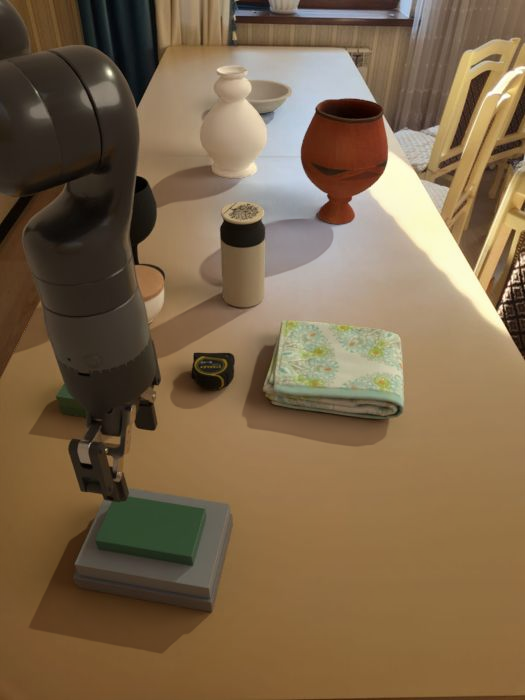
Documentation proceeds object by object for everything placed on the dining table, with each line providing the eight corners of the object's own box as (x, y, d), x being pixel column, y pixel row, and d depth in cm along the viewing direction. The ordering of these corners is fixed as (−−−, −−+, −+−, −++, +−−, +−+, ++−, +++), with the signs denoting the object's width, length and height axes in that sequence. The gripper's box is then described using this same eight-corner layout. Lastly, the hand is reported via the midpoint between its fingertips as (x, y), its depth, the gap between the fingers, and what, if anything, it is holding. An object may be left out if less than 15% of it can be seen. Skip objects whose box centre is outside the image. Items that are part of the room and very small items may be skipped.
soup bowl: (260, 95, 198) (260, 75, 193) (306, 112, 184) (307, 91, 180) (207, 108, 186) (206, 87, 182) (251, 128, 173) (251, 106, 168)
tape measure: (235, 365, 90) (235, 348, 88) (233, 395, 85) (232, 378, 83) (194, 364, 90) (192, 347, 88) (189, 394, 85) (187, 377, 83)
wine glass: (148, 259, 114) (134, 167, 101) (175, 281, 108) (164, 187, 95) (103, 276, 109) (83, 182, 96) (129, 300, 103) (110, 204, 90)
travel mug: (271, 293, 106) (274, 208, 94) (248, 314, 101) (247, 227, 89) (239, 280, 109) (237, 196, 97) (214, 299, 104) (209, 213, 92)
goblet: (386, 207, 133) (405, 100, 117) (363, 243, 120) (381, 129, 104) (313, 191, 139) (322, 88, 123) (284, 224, 126) (289, 113, 109)
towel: (278, 333, 97) (279, 310, 93) (399, 347, 94) (404, 324, 91) (261, 407, 83) (261, 384, 80) (401, 426, 81) (407, 403, 77)
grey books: (77, 587, 62) (67, 567, 59) (112, 504, 70) (105, 482, 67) (212, 612, 60) (210, 592, 57) (233, 524, 68) (232, 502, 65)
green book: (97, 549, 60) (94, 540, 59) (117, 503, 65) (114, 493, 63) (193, 566, 59) (191, 557, 58) (206, 517, 64) (205, 508, 62)
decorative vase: (261, 185, 142) (262, 82, 125) (195, 179, 144) (187, 78, 127) (271, 158, 155) (273, 62, 138) (210, 153, 157) (205, 58, 140)
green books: (60, 414, 82) (54, 396, 79) (77, 386, 86) (72, 367, 84) (131, 424, 80) (127, 406, 78) (145, 395, 85) (141, 377, 82)
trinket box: (127, 342, 94) (118, 299, 88) (98, 313, 100) (88, 270, 94) (179, 318, 99) (174, 276, 93) (149, 292, 105) (142, 250, 99)
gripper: (92, 280, 48) (122, 403, 59) (11, 393, 38) (65, 518, 49) (173, 288, 47) (189, 412, 58) (113, 407, 37) (145, 531, 48)
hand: (132, 460), depth 53 cm, fingers open, 8 cm apart
